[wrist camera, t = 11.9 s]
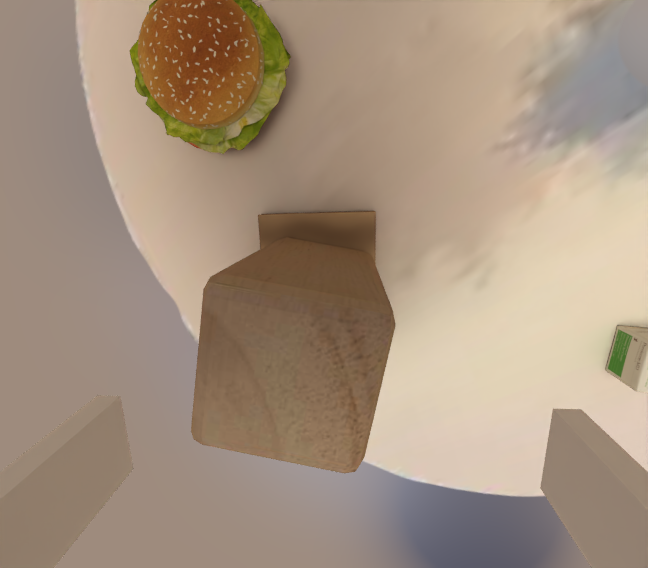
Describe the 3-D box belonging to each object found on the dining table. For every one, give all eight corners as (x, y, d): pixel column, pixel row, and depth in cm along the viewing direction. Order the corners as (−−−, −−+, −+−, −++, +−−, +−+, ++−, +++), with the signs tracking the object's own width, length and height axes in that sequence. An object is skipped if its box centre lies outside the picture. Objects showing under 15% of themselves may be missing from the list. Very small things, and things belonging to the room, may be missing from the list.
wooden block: (266, 324, 39) (182, 449, 19) (279, 234, 36) (196, 274, 17) (356, 341, 38) (361, 485, 19) (374, 251, 36) (402, 312, 17)
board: (263, 214, 38) (257, 215, 36) (373, 210, 38) (375, 211, 35) (273, 349, 42) (268, 358, 40) (373, 349, 41) (374, 359, 39)
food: (215, 183, 38) (180, 179, 30) (134, 64, 36) (74, 27, 28) (320, 106, 36) (311, 80, 28) (239, -27, 33) (206, -95, 26)
